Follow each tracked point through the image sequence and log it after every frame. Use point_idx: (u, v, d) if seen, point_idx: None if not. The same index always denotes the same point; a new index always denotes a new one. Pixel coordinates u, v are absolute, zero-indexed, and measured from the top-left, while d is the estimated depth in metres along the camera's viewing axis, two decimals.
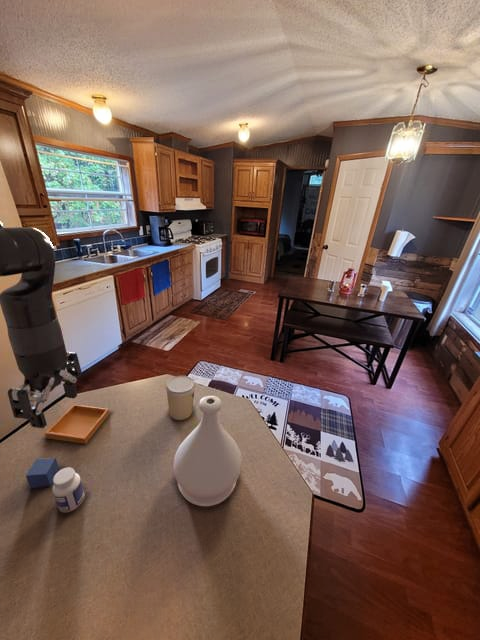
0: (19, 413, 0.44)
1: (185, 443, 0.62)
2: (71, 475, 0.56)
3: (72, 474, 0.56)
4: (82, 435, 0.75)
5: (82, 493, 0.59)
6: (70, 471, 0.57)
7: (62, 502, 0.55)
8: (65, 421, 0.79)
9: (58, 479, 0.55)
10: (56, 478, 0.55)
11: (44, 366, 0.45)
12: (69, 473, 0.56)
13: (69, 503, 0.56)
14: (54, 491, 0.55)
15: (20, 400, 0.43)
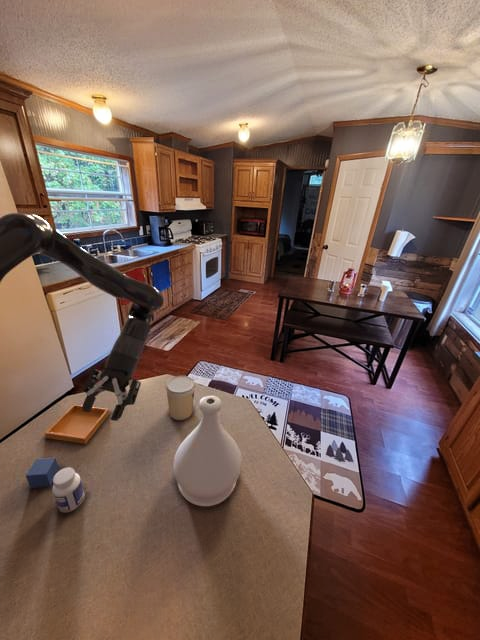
0: (131, 399, 0.63)
1: (185, 443, 0.62)
2: (71, 475, 0.56)
3: (72, 474, 0.56)
4: (82, 435, 0.75)
5: (82, 493, 0.59)
6: (70, 471, 0.57)
7: (62, 502, 0.55)
8: (65, 421, 0.79)
9: (58, 479, 0.55)
10: (56, 478, 0.55)
11: None
12: (69, 473, 0.56)
13: (69, 503, 0.56)
14: (54, 491, 0.55)
15: (138, 387, 0.66)
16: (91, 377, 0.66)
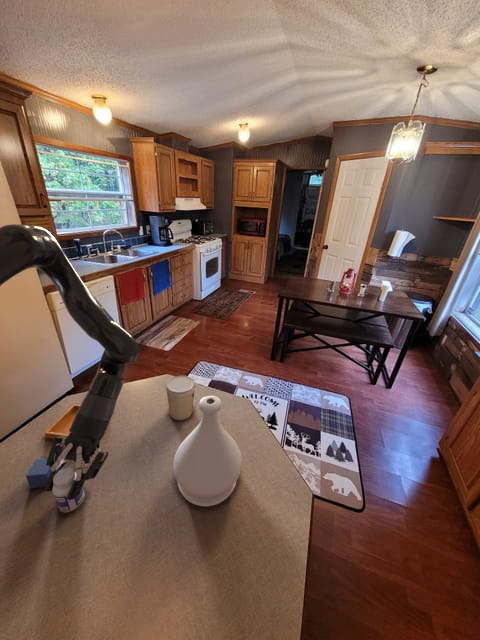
0: None
1: (185, 443, 0.62)
2: (71, 475, 0.56)
3: (72, 474, 0.56)
4: None
5: (82, 493, 0.59)
6: (70, 471, 0.57)
7: (62, 502, 0.55)
8: (65, 421, 0.79)
9: (58, 479, 0.55)
10: (56, 478, 0.55)
11: None
12: (69, 473, 0.56)
13: (69, 503, 0.56)
14: (54, 491, 0.55)
15: (104, 460, 0.58)
16: (54, 447, 0.59)
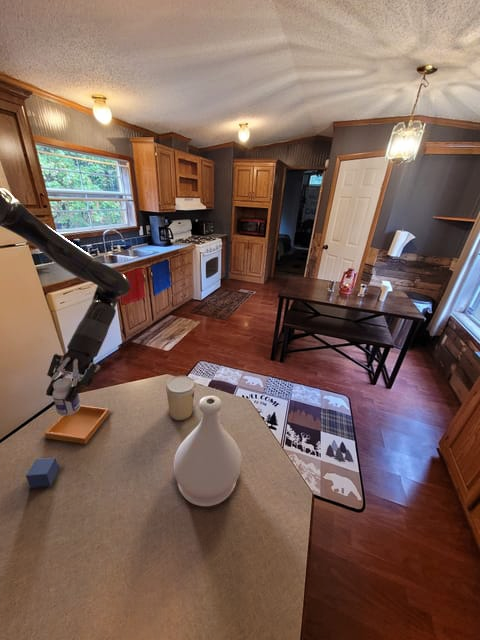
0: (85, 381, 0.65)
1: (185, 443, 0.62)
2: (68, 382, 0.65)
3: (69, 382, 0.65)
4: (82, 435, 0.75)
5: (78, 402, 0.68)
6: (68, 380, 0.66)
7: (61, 404, 0.64)
8: (65, 421, 0.79)
9: (57, 384, 0.64)
10: (55, 384, 0.64)
11: None
12: (67, 381, 0.65)
13: (67, 407, 0.65)
14: (54, 394, 0.64)
15: (97, 372, 0.67)
16: (54, 361, 0.68)
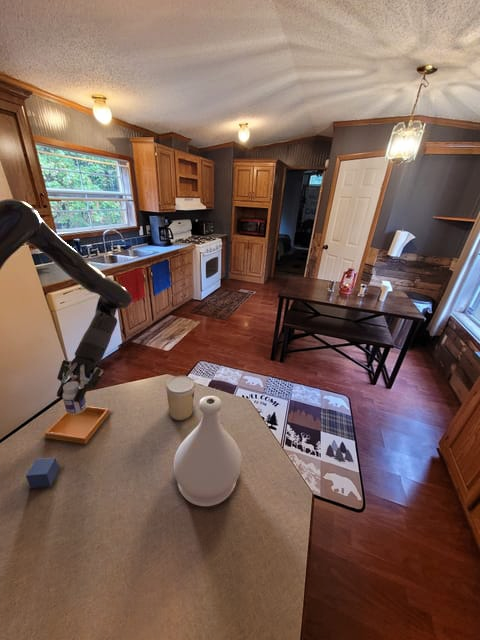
0: None
1: (185, 443, 0.62)
2: (76, 385, 0.74)
3: (77, 384, 0.74)
4: (82, 435, 0.75)
5: (85, 402, 0.77)
6: (75, 383, 0.74)
7: (70, 404, 0.73)
8: (65, 421, 0.79)
9: (66, 387, 0.73)
10: (65, 386, 0.73)
11: (102, 357, 0.80)
12: (75, 384, 0.74)
13: (75, 407, 0.74)
14: (64, 396, 0.72)
15: (101, 376, 0.76)
16: (63, 367, 0.76)
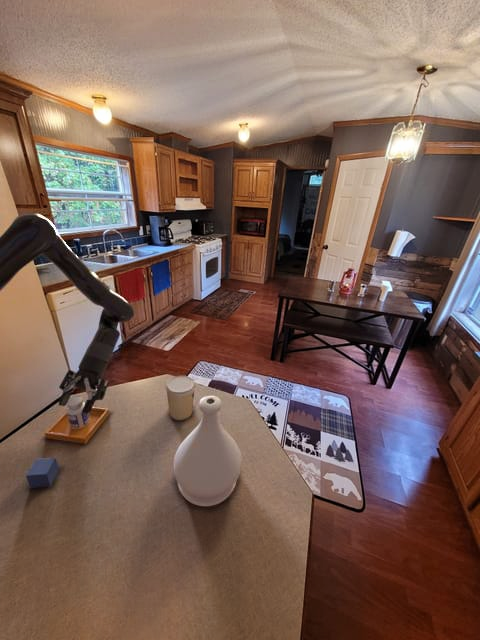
0: (99, 395, 0.76)
1: (185, 443, 0.62)
2: (80, 401, 0.76)
3: (81, 400, 0.76)
4: (82, 435, 0.75)
5: (88, 417, 0.79)
6: (79, 398, 0.77)
7: (73, 420, 0.75)
8: (65, 421, 0.79)
9: (71, 403, 0.75)
10: (69, 402, 0.75)
11: None
12: (78, 400, 0.76)
13: (78, 422, 0.76)
14: (68, 411, 0.75)
15: (107, 385, 0.78)
16: (67, 377, 0.79)
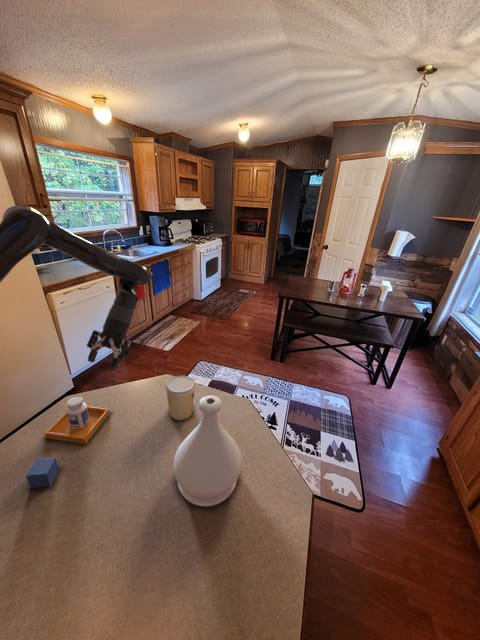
0: None
1: (185, 443, 0.62)
2: (80, 401, 0.76)
3: (81, 400, 0.76)
4: (82, 435, 0.75)
5: (88, 417, 0.79)
6: (79, 398, 0.77)
7: (74, 420, 0.75)
8: (65, 421, 0.79)
9: (71, 403, 0.75)
10: (69, 402, 0.75)
11: None
12: (78, 400, 0.76)
13: (78, 422, 0.76)
14: (68, 411, 0.75)
15: (130, 345, 0.85)
16: (93, 336, 0.85)
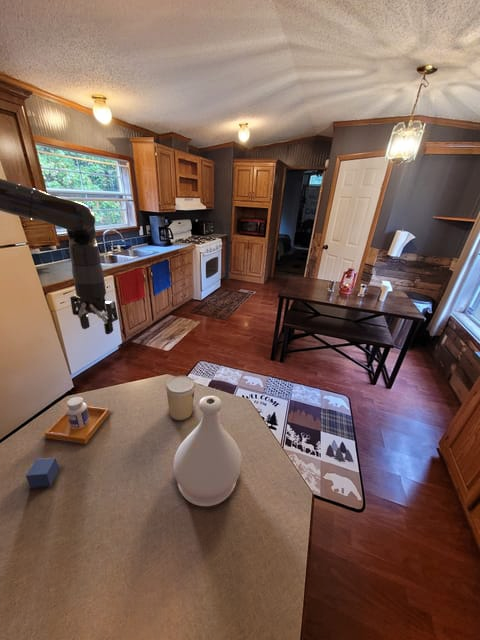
0: (113, 318, 0.74)
1: (185, 443, 0.62)
2: (80, 401, 0.76)
3: (81, 400, 0.76)
4: (82, 435, 0.75)
5: (88, 417, 0.79)
6: (79, 398, 0.77)
7: (74, 420, 0.75)
8: (65, 421, 0.79)
9: (71, 403, 0.75)
10: (69, 402, 0.75)
11: (105, 289, 0.75)
12: (78, 400, 0.76)
13: (78, 422, 0.76)
14: (68, 411, 0.75)
15: (115, 306, 0.74)
16: (73, 303, 0.75)
